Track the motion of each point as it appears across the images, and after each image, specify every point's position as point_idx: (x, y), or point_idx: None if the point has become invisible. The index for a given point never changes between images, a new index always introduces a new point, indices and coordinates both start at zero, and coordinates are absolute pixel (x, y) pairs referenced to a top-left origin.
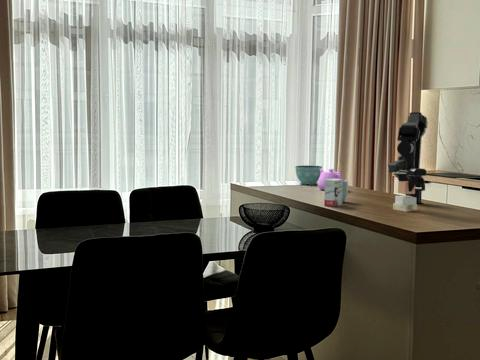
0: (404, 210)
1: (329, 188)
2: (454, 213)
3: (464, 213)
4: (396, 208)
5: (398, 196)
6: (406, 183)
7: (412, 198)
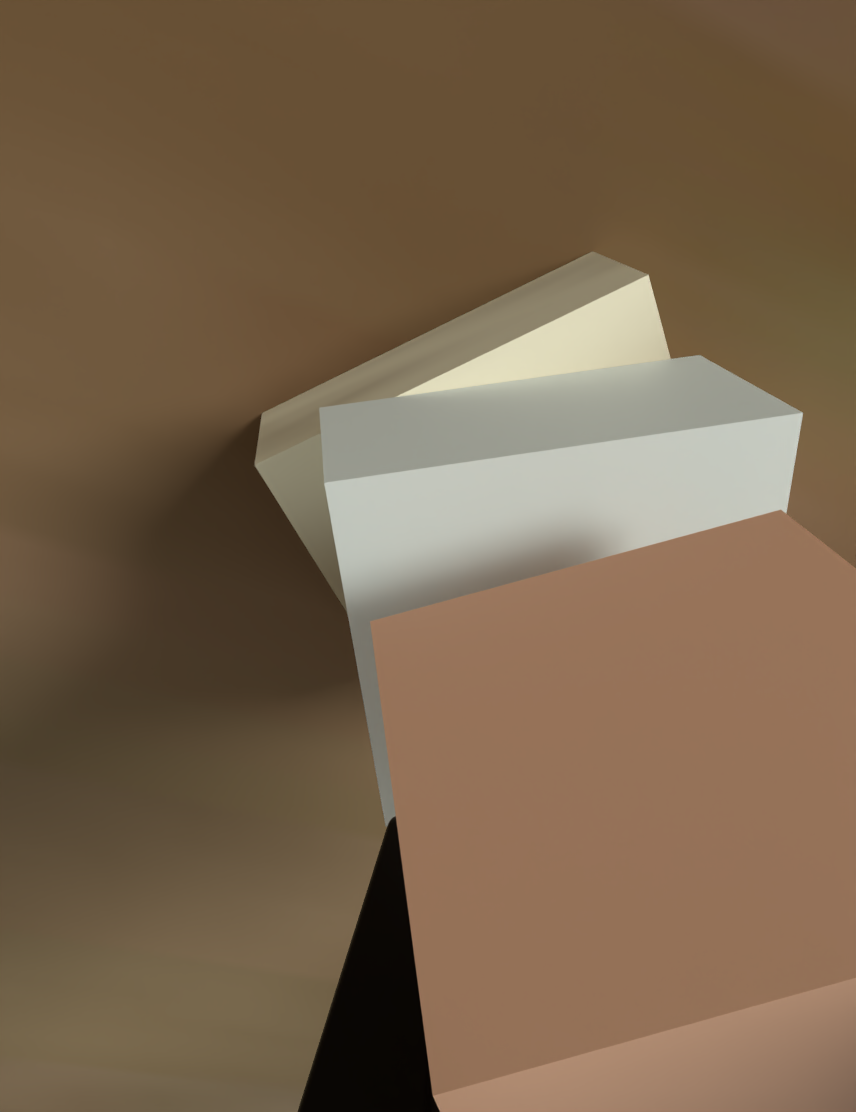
0: (280, 408)
1: None
2: (131, 1006)
3: (150, 1080)
4: (502, 305)
5: (663, 464)
6: (433, 1054)
7: (369, 731)
